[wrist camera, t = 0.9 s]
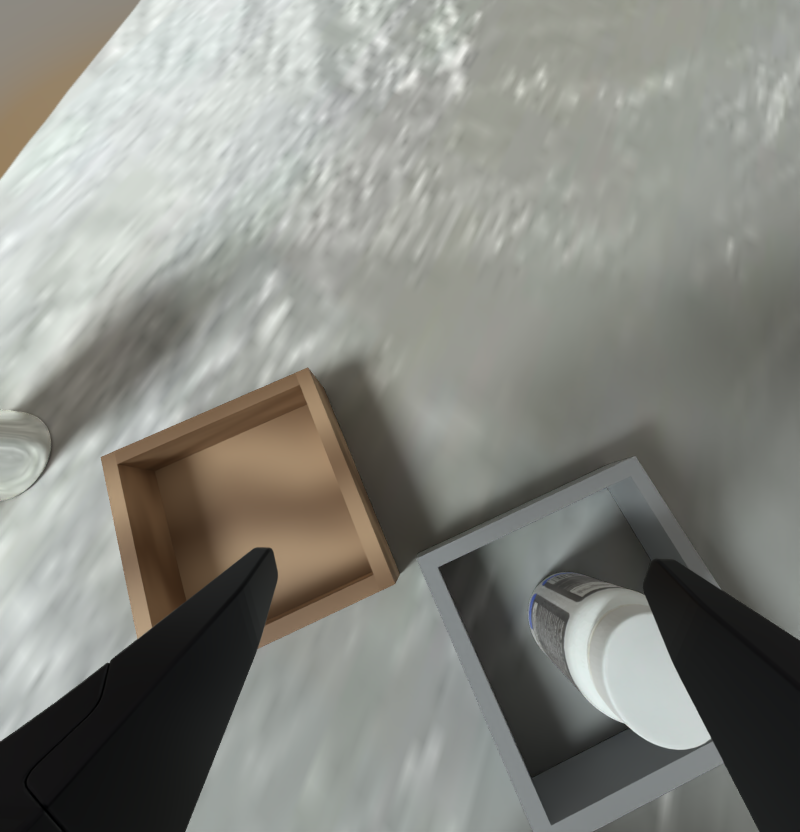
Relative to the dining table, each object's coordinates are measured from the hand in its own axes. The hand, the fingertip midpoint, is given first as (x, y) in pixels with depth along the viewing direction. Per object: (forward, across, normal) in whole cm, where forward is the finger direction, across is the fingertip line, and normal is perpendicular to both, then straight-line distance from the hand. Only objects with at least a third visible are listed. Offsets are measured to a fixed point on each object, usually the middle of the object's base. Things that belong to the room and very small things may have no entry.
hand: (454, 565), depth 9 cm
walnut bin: (+11, +11, +8) cm, 17 cm away
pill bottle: (+8, -7, +12) cm, 16 cm away
